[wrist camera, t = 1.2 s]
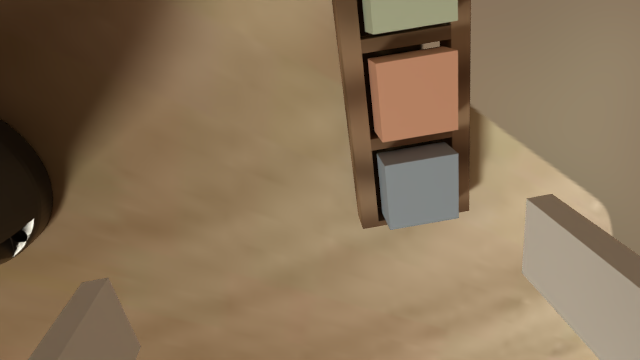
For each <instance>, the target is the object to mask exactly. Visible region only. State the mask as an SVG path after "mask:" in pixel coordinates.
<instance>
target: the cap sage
mask: <svg viewBox="0 0 640 360" xmlns="http://www.w3.org/2000/svg"><path fill="white" fill-rule="evenodd" d="M362 4H363V14H364V25H365V32H367V33H370V34H379V33H386V32H392V31H398V30H404V29H410V28H416V27H422V26H428V25H434V24H440V23H446V22H453V21H458V0H362Z"/></svg>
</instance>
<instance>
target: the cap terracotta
mask: <svg viewBox="0 0 640 360" xmlns="http://www.w3.org/2000/svg"><path fill="white" fill-rule="evenodd" d="M368 67H369V78H370V88H371V99H372V109H373V120H374V130H375V133H376V134H377V135H378V137H379V138H380V140H381V141H382V142H389V141H395V140H401V139H407V138H413V137H419V136H424V135H430V134H436V133H442V132H448V131H454V130H458V50H455V49H452V48H448V47H444V46H441V47H435V48H429V49H422V50H416V51H410V52H404V53H398V54H392V55H386V56H380V57H374V58H368Z"/></svg>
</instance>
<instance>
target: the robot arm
mask: <svg viewBox="0 0 640 360" xmlns="http://www.w3.org/2000/svg"><path fill="white" fill-rule="evenodd" d="M52 201H53V197H52V189H51V184H50V180H49V177H48V174H47V172H46V170H45V168H44V166H43V164H42V162H41V160H40V159H39V157H38V156H37V154H36V153H35V151H34V150H33V149H32V147H31V146H30V145H29V144H28V143H27V142H26V141H25V140H24V139H23V138H22V137H21V136H20V135H19V134H18V133H17V132H16V131H15V130H14V129H12V128H11V127H10V126H9V125H7V124H6V123H4V122H3V121H2V120H0V264H3V263H5V262H7V261H9V260H11V259H12V258H14V257H15V256H17V255H18V254H20V253H21V252H22V251H23V250H24V249H26V248H27V247H28V246H29V245H30V244H31V243H32V242H33V241H34V240H35V239H36V238H37V237H38V236H39V235H40V234H41V233H42V231H43V230H44V228H45V227H46V225H47V223H48V221H49V218H50V215H51V211H52ZM522 274H523V275H524V276H525V277H526V278H527V279H528V280H529V281H530V283H531V284H532V285H533V286H534V287H535V288H536V289H537V290H538V291H539V293H540V294H541V295H542V296H543V297H544V298H545V299H546V300H547V301H548V303H549V304H550V305H551V306H552V307H553V308H554V309H555V310H556V312H557V313H558V314H559V315H560V316H561V317H562V318H563V319H564V320H565V322H566V323H567V324H568V325H569V326H570V327H571V328H572V329H573V330H574V332H575V333H576V334H577V335H578V336H579V337H580V338H581V339H582V340H583V342H584V343H585V344H586V345H587V346H588V347H589V348H590V349H591V351H592V352H593V353H594V354H595V355H596V356H597V357H598V358H599V359H600V360H640V256H639V255H638V254H636V253H635V252H634V251H632V250H631V249H629V248H628V247H627V246H625V245H624V244H622V243H621V242H619V241H618V240H617V239H615V238H614V237H612V236H611V235H609V234H608V233H607V232H605V231H604V230H602V229H601V228H599V227H598V226H597V225H595V224H594V223H592V222H591V221H590V220H588V219H587V218H585V217H584V216H582V215H581V214H580V213H578V212H577V211H575V210H574V209H572V208H571V207H570V206H568V205H567V204H565V203H564V202H563V201H561V200H560V199H558V198H557V197H555V196H554V195H553V194H549V195H543V196H538V197H533V198H527V201H526V217H525V233H524V248H523V264H522ZM140 347H141V346H140V344H139V341H138V339H137V337H136V335H135V333H134V331H133V329H132V327H131V325H130V322H129V320H128V318H127V316H126V314H125V312H124V310H123V308H122V306H121V303H120V301H119V299H118V297H117V295H116V293H115V291H114V289H113V287H112V285H111V282H110V280H109V278H104V279H98V280H93V281H88V282H82V283H81V285H80V286H79V288H78V289H77V290H76V292H75V293H74V295H73V296H72V298H71V299H70V300H69V302H68V303H67V305H66V306H65V308H64V309H63V310H62V312H61V313H60V315H59V316H58V318H57V319H56V320H55V322H54V323H53V325H52V326H51V328H50V329H49V330H48V332H47V333H46V335H45V336H44V337H43V339H42V340H41V342H40V343H39V345H38V346H37V347H36V349H35V350H34V352H33V353H32V355H31V356H30V357H29V359H28V360H136V357H137V355H138V352H139V350H140Z"/></svg>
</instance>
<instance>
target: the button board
mask: <svg viewBox="0 0 640 360" xmlns="http://www.w3.org/2000/svg"><path fill="white" fill-rule="evenodd" d="M332 4H333V13H334V21H335V29H336V37H337V45H338V53H339V61H340V69H341V77H342V86H343V94H344V102H345V110H346V118H347V126H348V134H349V142H350V150H351V159H352V167H353V175H354V183H355V191H356V199H357V207H358V215H359V218H360V221H361V224H362V227H363V229H365V228H371V227H377V226H383V225H388V224H387V222H386V220H385V218H384V216H383V214H382V207H380V208H377V200H376V190H375V180H374V170H373V160H372V151H373V150H379V149H385V148H391V147H397V146H403V145H409V144H415V143H420V142H426V141H432V140H438V139H442V142H446V143H447V144H448V145H449V146H450V147H451V148H453V149H454V150H455V151H456V152H457V153H458V172H459V212H464V211H469V154H470V31H471V29H470V25H471V24H470V23H471V21H470V20H471V0H458V21H453V22H446V23H440V24H435V25H428V26H422V27H416V28H410V29H404V30H398V31H392V32H386V33H380V34H374V35H368V36H361V37H360V30H359V20H358V10H357V0H332ZM435 41H440V47H441V46H444V47H448V48H452V49H455V50H458V130H454V131H448V132H442V133H436V134H430V135H424V136H419V137H413V138H407V139H401V140H395V141H389V142H382V141H381V140H380V138H379V137H378V135H377V134H376V133H375V130H369V120H368V110H367V100H366V90H365V80H364V70H363V60H362V54H363V53H370V52H376V51H382V50H388V49H394V48H400V47H406V46H412V45H418V44H424V43H430V42H435Z"/></svg>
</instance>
